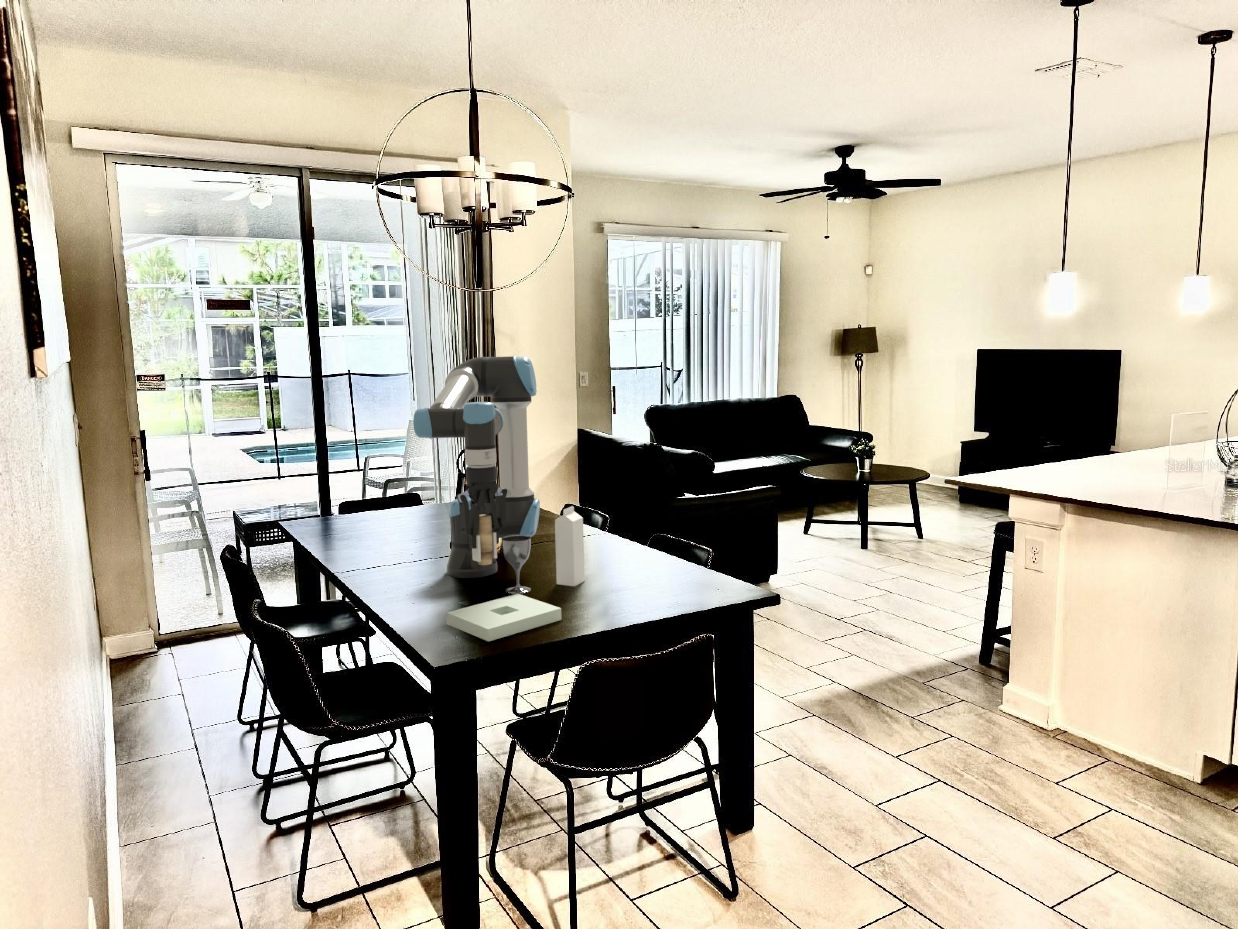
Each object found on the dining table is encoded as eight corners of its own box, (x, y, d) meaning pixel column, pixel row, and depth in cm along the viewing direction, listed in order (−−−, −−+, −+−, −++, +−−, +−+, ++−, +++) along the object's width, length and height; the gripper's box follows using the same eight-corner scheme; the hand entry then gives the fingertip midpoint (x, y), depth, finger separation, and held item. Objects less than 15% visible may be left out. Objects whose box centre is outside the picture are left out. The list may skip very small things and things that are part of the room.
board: (447, 624, 218) (446, 612, 218) (518, 604, 233) (518, 593, 233) (488, 641, 205) (488, 629, 205) (561, 619, 220) (561, 608, 220)
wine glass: (533, 585, 250) (531, 534, 248) (531, 594, 243) (529, 541, 240) (505, 586, 250) (503, 535, 248) (502, 594, 242) (500, 541, 240)
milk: (556, 584, 251) (553, 509, 248) (566, 579, 257) (564, 505, 254) (575, 586, 249) (572, 510, 246) (585, 581, 254) (582, 506, 251)
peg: (473, 563, 218) (471, 516, 216) (487, 560, 220) (485, 513, 219) (482, 566, 215) (480, 518, 213) (496, 563, 217) (494, 515, 216)
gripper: (458, 470, 206) (462, 568, 209) (518, 463, 217) (522, 555, 220) (442, 467, 211) (446, 562, 215) (502, 460, 222) (505, 550, 226)
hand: (484, 558), depth 217 cm, fingers closed on peg, 4 cm apart
